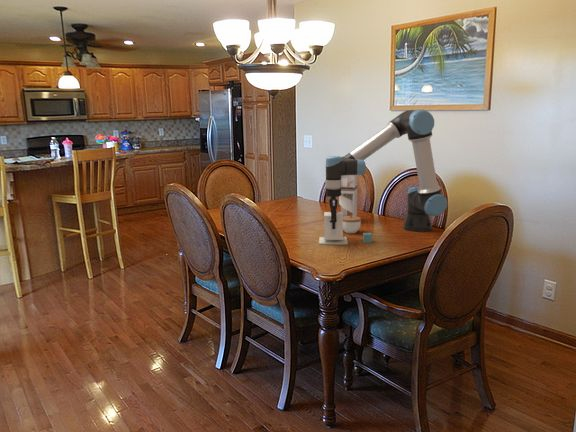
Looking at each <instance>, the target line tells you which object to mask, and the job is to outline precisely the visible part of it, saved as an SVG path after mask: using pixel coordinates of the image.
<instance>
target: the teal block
mask: <svg viewBox="0 0 576 432" xmlns="http://www.w3.org/2000/svg"><path fill="white" fill-rule="evenodd" d="M362 241H363V243H373V234H372V232H363V233H362Z"/></svg>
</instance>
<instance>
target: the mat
mask: <svg viewBox="0 0 576 432" xmlns="http://www.w3.org/2000/svg"><path fill="white" fill-rule="evenodd" d="M318 244H319V245H330V246H331V245H333V246H334V245H342V246H343V245H344V246H345V245H346V246H347V245H349V241H348V239H347V237H346V236H343V240H324V236H319V238H318Z"/></svg>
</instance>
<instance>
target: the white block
mask: <svg viewBox="0 0 576 432" xmlns="http://www.w3.org/2000/svg"><path fill="white" fill-rule="evenodd" d="M323 213H324V214H323V237H324V240H343V237H344V235H343V234H344V233H343V231H344V230H343V214H342V212H341V211H336V220H337V222H336V235H331V223H330V221H331V211H324V212H323ZM332 220H335V219H332Z"/></svg>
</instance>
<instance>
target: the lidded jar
mask: <svg viewBox="0 0 576 432" xmlns="http://www.w3.org/2000/svg"><path fill="white" fill-rule="evenodd" d="M361 222H362V218H361V217H360V216H352V215H350V216H344V217H343V231H344V232H345V234H355V233H357V232H358V231H359V230H360V229H361V224H362V223H361Z"/></svg>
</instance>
